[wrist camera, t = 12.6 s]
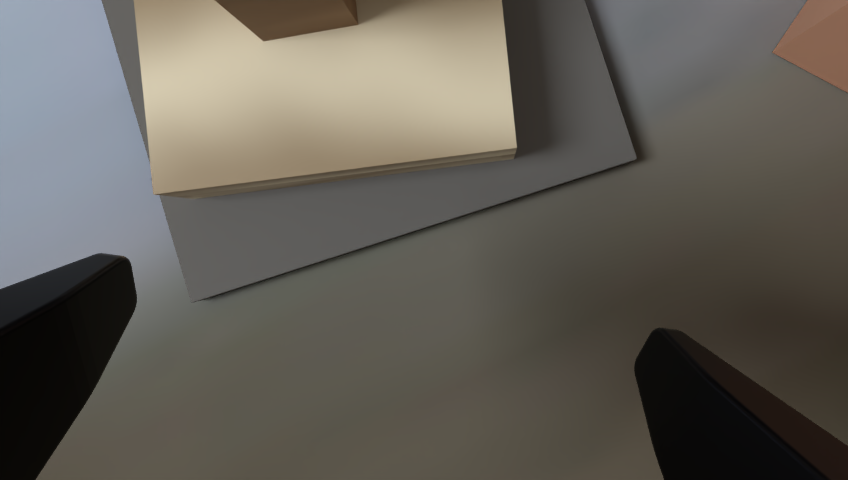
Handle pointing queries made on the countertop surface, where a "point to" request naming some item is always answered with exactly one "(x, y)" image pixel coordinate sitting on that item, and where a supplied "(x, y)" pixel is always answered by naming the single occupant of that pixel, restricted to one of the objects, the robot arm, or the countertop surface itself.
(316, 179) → the lid
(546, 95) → the mat
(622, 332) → the countertop surface
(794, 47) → the storage box
